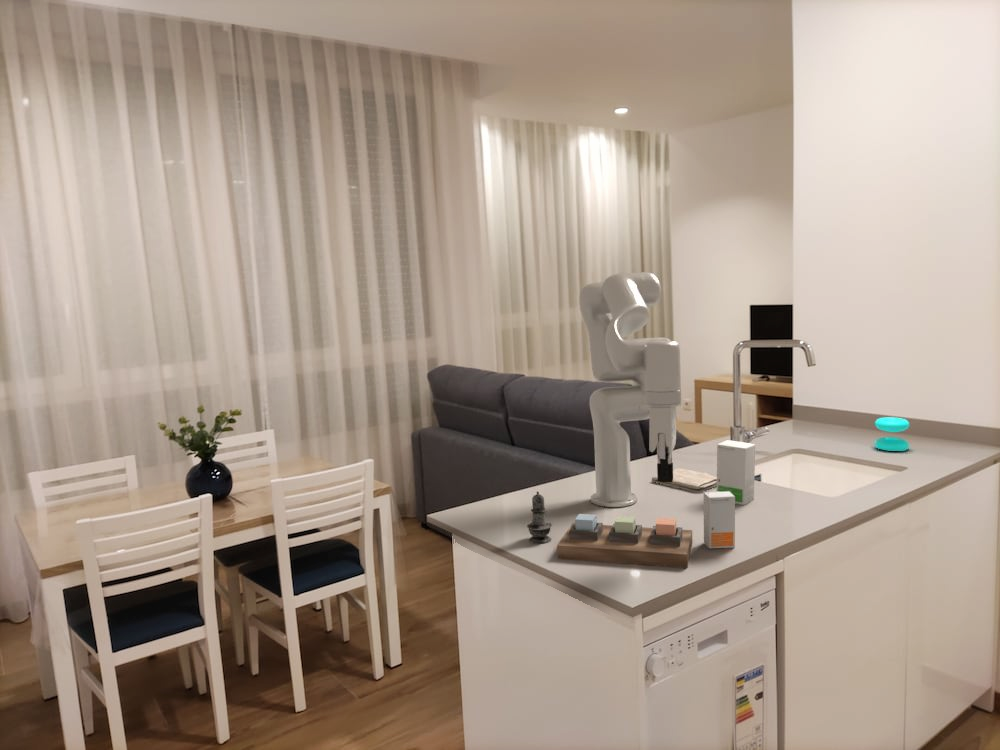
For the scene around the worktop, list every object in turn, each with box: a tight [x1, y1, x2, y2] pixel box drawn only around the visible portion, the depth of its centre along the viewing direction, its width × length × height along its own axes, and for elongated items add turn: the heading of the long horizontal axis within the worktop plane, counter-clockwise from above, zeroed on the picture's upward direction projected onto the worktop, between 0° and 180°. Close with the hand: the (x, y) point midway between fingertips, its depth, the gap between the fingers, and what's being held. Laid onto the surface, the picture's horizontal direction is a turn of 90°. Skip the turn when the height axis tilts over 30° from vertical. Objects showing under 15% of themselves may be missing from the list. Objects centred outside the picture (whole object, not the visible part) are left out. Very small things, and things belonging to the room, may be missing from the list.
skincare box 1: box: [703, 491, 736, 550], centre depth 164 cm, size 6×4×12 cm
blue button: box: [574, 513, 597, 531], centre depth 167 cm, size 4×4×3 cm
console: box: [556, 522, 693, 569], centre depth 165 cm, size 15×28×5 cm, turn 71°
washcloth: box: [651, 468, 717, 494], centre depth 214 cm, size 12×18×3 cm, turn 40°
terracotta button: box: [655, 517, 677, 536], centre depth 161 cm, size 4×4×3 cm
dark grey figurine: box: [526, 490, 552, 545], centre depth 174 cm, size 6×6×12 cm
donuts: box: [874, 416, 910, 452], centre depth 241 cm, size 10×10×10 cm
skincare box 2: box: [716, 439, 756, 506], centre depth 196 cm, size 8×7×16 cm
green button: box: [614, 515, 637, 533], centre depth 164 cm, size 4×4×3 cm
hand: (665, 480), depth 160 cm, fingers closed
